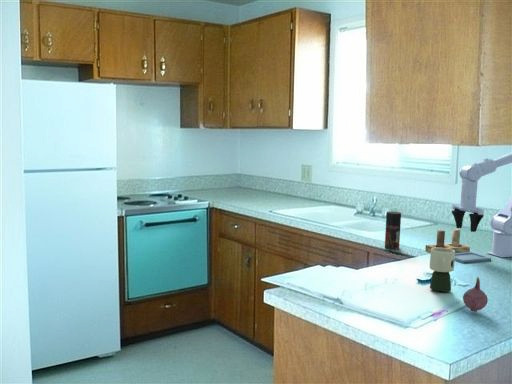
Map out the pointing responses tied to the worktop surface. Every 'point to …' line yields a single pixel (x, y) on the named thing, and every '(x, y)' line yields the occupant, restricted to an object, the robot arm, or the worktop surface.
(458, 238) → the birch dowel
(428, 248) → the holder block
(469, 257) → the tray
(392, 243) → the deodorant
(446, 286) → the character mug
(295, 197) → the worktop surface
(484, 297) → the vegetable
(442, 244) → the walnut dowel
